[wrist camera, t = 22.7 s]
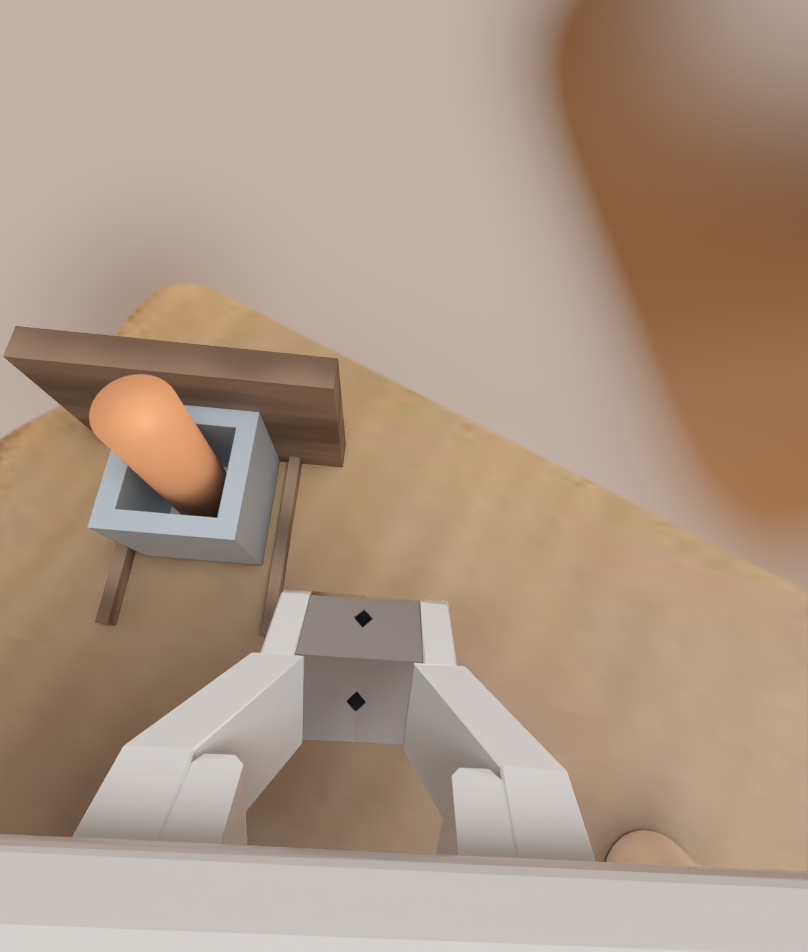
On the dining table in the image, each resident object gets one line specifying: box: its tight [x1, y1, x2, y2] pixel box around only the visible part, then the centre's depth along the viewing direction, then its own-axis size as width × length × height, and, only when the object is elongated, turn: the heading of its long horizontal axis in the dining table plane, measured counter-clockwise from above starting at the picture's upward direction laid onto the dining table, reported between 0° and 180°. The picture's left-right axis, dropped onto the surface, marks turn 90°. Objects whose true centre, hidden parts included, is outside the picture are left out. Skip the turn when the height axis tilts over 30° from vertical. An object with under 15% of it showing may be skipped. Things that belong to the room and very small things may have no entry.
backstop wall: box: [3, 326, 346, 636], centre depth 31 cm, size 15×18×12 cm
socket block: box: [87, 405, 280, 565], centre depth 33 cm, size 8×8×8 cm
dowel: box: [89, 374, 227, 518], centre depth 30 cm, size 4×4×14 cm
